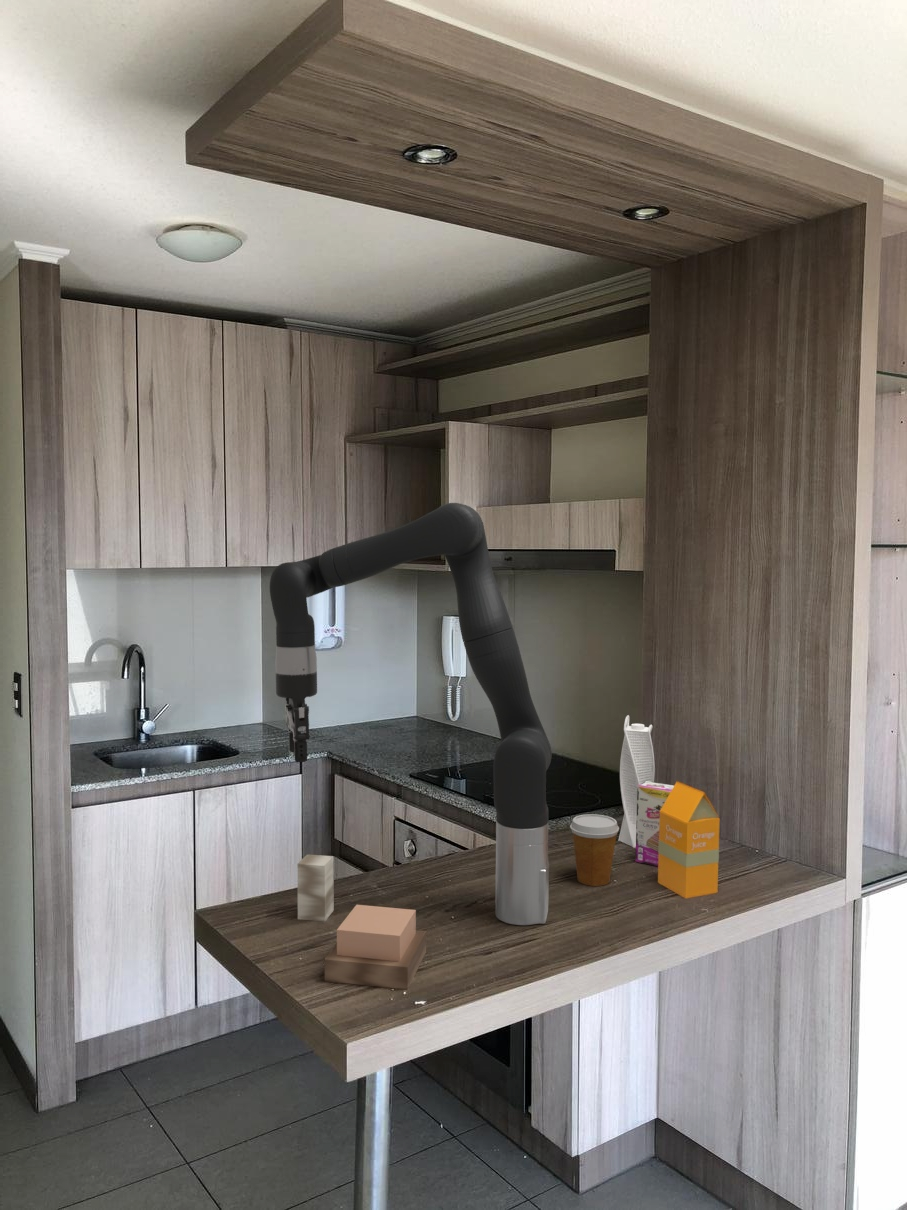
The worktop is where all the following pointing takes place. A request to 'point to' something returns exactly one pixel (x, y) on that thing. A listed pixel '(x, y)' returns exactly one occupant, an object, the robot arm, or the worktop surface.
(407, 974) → the tower base block
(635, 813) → the skyscraper
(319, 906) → the cream block
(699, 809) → the orange juice
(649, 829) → the candy bar box
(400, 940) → the tower top block
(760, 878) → the worktop surface
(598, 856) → the disposable coffee cup
